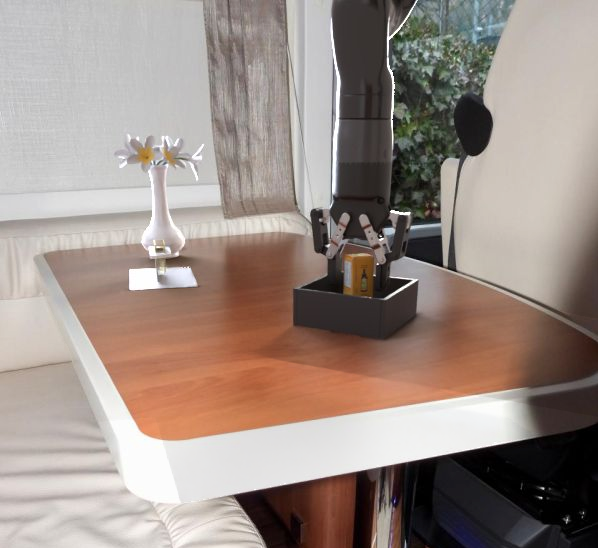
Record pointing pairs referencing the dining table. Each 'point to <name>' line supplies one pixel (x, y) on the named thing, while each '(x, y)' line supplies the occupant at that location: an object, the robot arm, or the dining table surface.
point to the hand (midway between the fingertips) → (357, 287)
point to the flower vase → (159, 184)
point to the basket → (355, 307)
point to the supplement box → (358, 274)
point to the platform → (161, 273)
